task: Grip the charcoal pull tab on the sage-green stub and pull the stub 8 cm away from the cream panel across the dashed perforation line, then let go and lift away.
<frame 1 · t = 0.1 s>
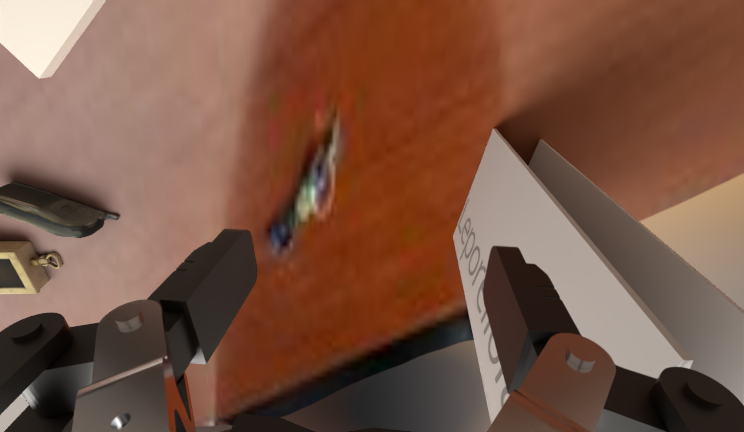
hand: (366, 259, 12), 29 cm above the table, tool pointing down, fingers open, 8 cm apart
brochure: (493, 191, 41), on the table
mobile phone: (68, 202, 48), on the table
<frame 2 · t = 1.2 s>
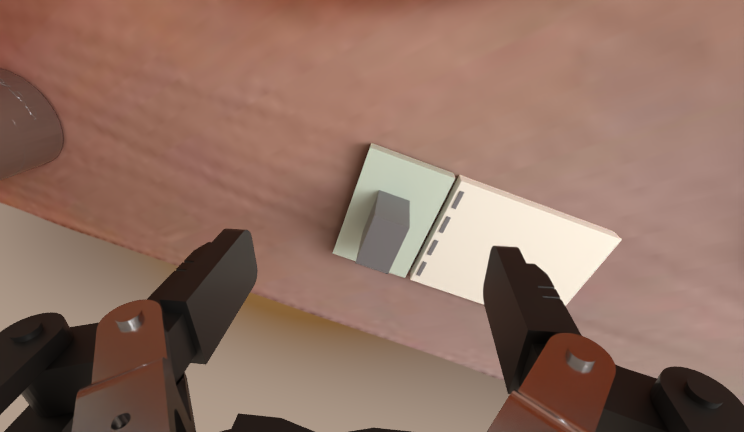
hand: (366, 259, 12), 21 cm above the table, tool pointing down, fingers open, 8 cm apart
stub: (388, 228, 32), point 3 cm above the table, slide at 0.0 cm
cream panel: (451, 233, 35), on the table
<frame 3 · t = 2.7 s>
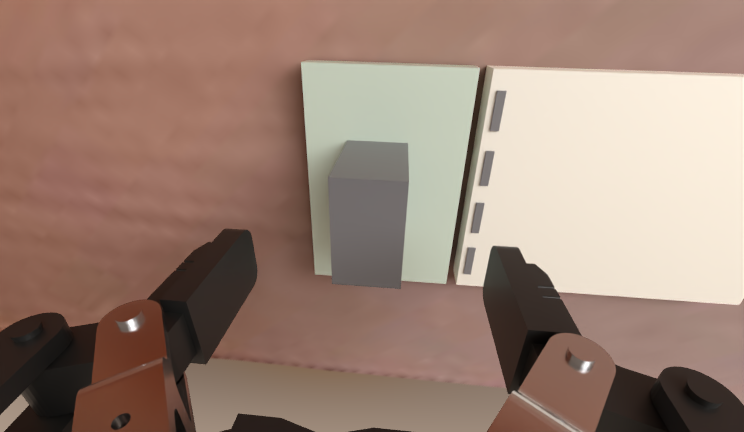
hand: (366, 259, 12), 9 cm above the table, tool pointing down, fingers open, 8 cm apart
stub: (381, 203, 17), point 3 cm above the table, slide at 0.0 cm
cream panel: (504, 184, 19), on the table
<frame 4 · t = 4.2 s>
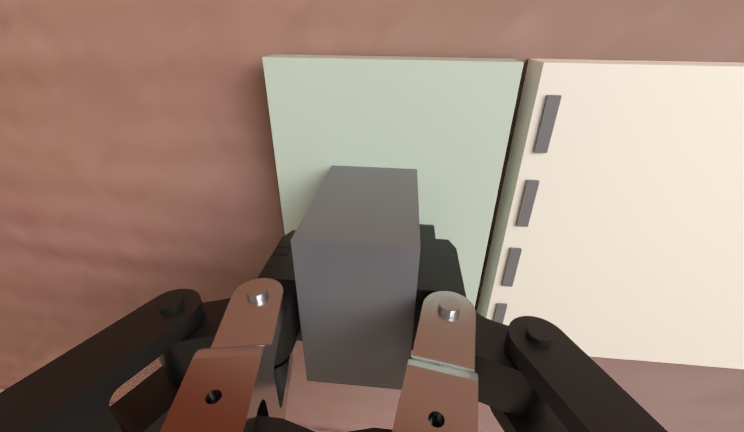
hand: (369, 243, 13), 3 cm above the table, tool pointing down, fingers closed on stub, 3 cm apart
stub: (380, 256, 12), point 3 cm above the table, slide at 0.0 cm, touching gripper
cream panel: (546, 219, 14), on the table
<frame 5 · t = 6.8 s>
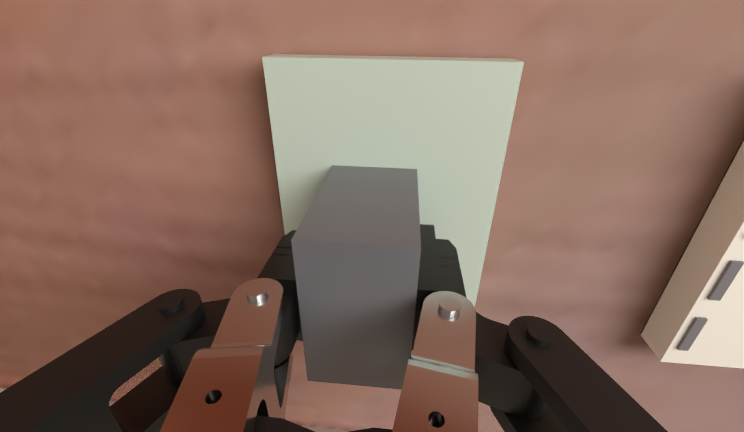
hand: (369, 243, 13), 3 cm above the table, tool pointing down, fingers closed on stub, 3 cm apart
stub: (380, 255, 12), point 3 cm above the table, slide at 7.8 cm, touching gripper
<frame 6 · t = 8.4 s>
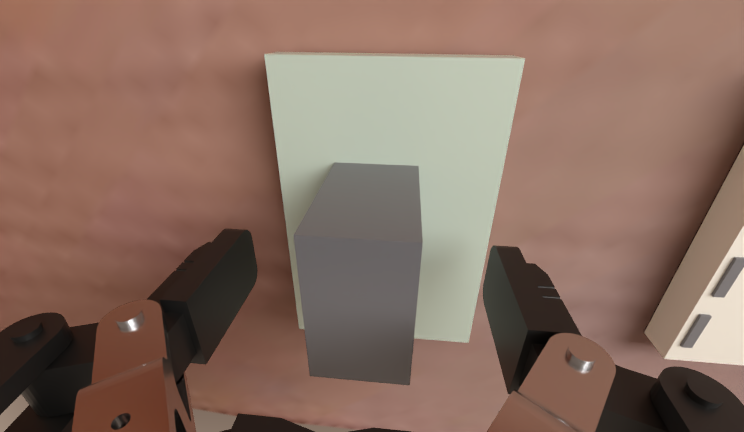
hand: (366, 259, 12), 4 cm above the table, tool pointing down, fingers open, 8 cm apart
stub: (382, 252, 12), point 3 cm above the table, slide at 7.9 cm
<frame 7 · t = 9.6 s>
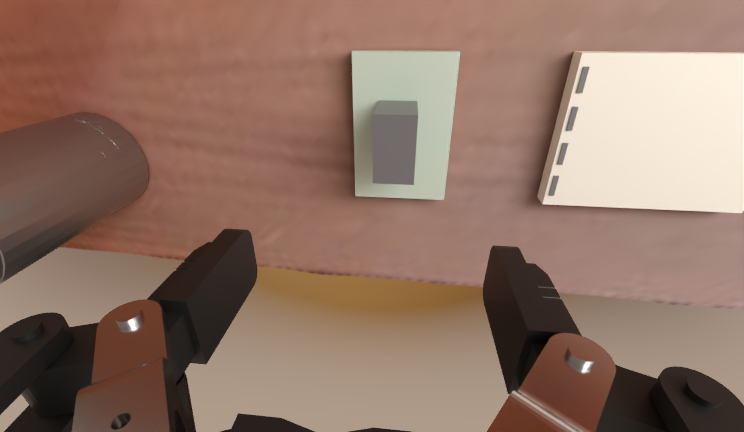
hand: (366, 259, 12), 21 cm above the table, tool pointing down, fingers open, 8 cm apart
stub: (401, 138, 27), point 3 cm above the table, slide at 7.9 cm
cream panel: (578, 132, 29), on the table
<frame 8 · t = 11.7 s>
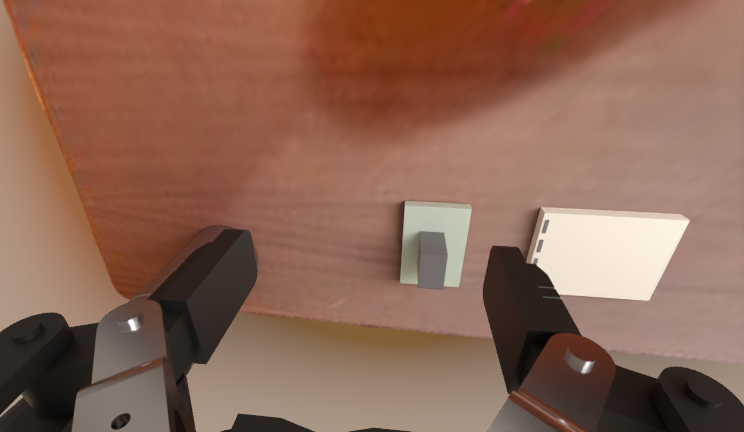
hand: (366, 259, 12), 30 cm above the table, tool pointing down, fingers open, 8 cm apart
stub: (434, 256, 43), point 3 cm above the table, slide at 7.9 cm
cream panel: (545, 249, 45), on the table
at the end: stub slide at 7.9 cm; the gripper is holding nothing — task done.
